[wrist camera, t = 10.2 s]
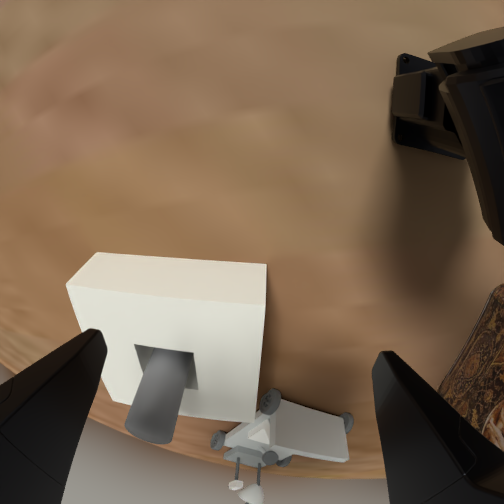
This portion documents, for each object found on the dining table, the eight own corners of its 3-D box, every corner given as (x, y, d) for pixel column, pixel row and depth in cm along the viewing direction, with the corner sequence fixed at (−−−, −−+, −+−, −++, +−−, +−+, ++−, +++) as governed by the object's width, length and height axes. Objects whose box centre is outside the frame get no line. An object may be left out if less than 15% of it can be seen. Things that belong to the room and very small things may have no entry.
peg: (195, 322, 24) (166, 425, 15) (198, 349, 25) (175, 447, 16) (159, 318, 24) (118, 415, 15) (164, 345, 25) (132, 438, 16)
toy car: (268, 510, 30) (194, 496, 27) (270, 458, 38) (204, 439, 36) (363, 477, 22) (273, 465, 20) (352, 409, 31) (274, 382, 29)
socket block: (266, 264, 22) (265, 305, 17) (256, 382, 28) (254, 423, 24) (96, 252, 22) (65, 284, 18) (128, 366, 29) (112, 400, 24)
